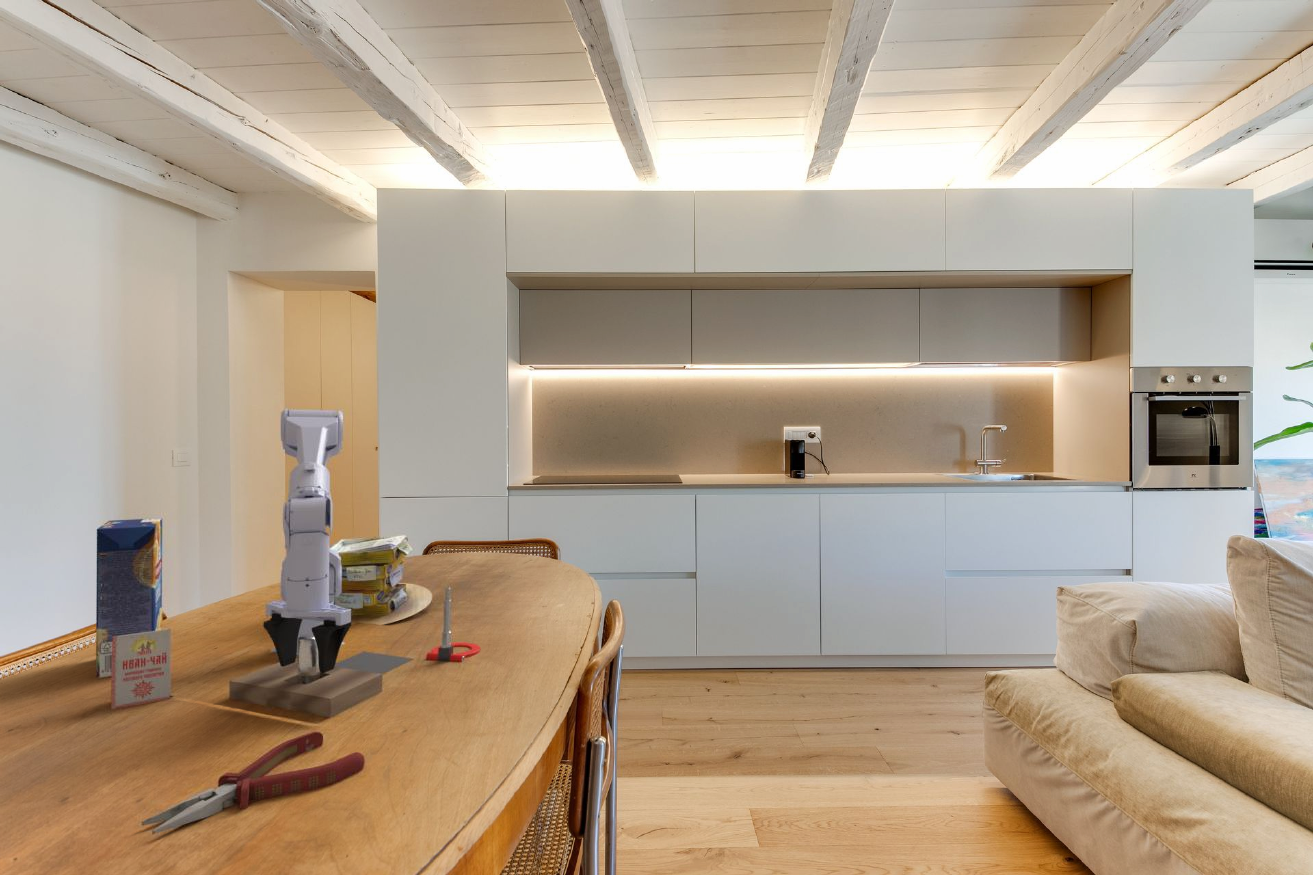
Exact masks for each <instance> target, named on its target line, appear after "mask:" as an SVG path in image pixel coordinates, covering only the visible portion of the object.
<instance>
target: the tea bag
mask: <svg viewBox="0 0 1313 875" xmlns="http://www.w3.org/2000/svg"><path fill="white" fill-rule="evenodd" d="M171 630H172V629H171V628H168V629H162V630H158V631H151V632H143V633H136V634H128V635H121V636H113V640H112V668H111V676H110V677H111V679H110V680H111V681H110V682H111V683H110V687H111V689H110V690H111V694H110V695H111V696H110V697H111V698H110V701H111V702H110V707H111V709H110V710H118V709H122V708H123V709H124V708H129V707H134V706H139V705H145V704H151V703H154V702H155V703H156V702H161V701H166V700H170V699H171V662H172V661H171V660H172V659H171V658H172V657H171V648H172V647H171V645H172V644H171V641H172V640H171V637H172V636H171Z"/></svg>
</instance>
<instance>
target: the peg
mask: <svg viewBox="0 0 1313 875" xmlns="http://www.w3.org/2000/svg"><path fill="white" fill-rule="evenodd" d="M297 661H298V680H297V683H299V684H305V685H307V684H309V683H312V682H314V681H316V680H319V679H320V670H319V663H318V649H317V644H316V640H315V637H314V635H313V634H308V635H304V636H301V637H299V638H298V655H297Z"/></svg>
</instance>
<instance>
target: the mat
mask: <svg viewBox="0 0 1313 875" xmlns="http://www.w3.org/2000/svg"><path fill="white" fill-rule="evenodd" d="M411 661H414V658H411V657H405V656H396V655H389V654H384V653H383V654H382V653H376V652H371V651H370V652H369V651H361V652H359V653H356V654H354V655H352V656H350V657H348V658H345V659H342V660H340V661H338V662H337V661H336V663H335V667H341V668H347V669H353V670H360V671H366V672H373V673H379V674H382V675H384V674H386V673H388V672H390V671H392V670H394V669H396V668H399V667H401V666H402V665H405V664H407V663H409V662H411Z"/></svg>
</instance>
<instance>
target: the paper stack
mask: <svg viewBox="0 0 1313 875" xmlns="http://www.w3.org/2000/svg"><path fill="white" fill-rule="evenodd" d="M329 548H330V549H332V550H334V551H335V552H337V553H338V554H339V556H340V557H341V566H342V589H341V594H340V595H339V596H338V597H335V595H334V605H336V606H339V607H342V608H345V609H351V626H352V625H355V624H371V625H378V626H379V625H381V626H383V625H387V624H391V623H394V622H398V621H400V620H405V619H406V618H409V617H411V616H414V615H416V614H418V613H419V612H421V611H423V610H424V609H426V608H427V607H428V606H429V605H430V603H431V602H432V600H433V594H432V592H431V590H429V589H428V588H426V587H424V586H422V585H418V584H415V583H407V582H400V581H401V580H402V579H403V575H404V574H405V562H404V560H405V559H406V557H407V556H408V555H409V554H410V553H411V552H412V551H413V548H412V546H411V545H410V544H409V539H408V537H407V536H406V535H405V534H403V535H396V536H389V537H370V538H362V537H361V538H360V537H359V538H349V537H348V538H344V539H340V540H339V541H338V542H335V543H334V544H332V545H331V546H329ZM329 564H331V563H329Z"/></svg>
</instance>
